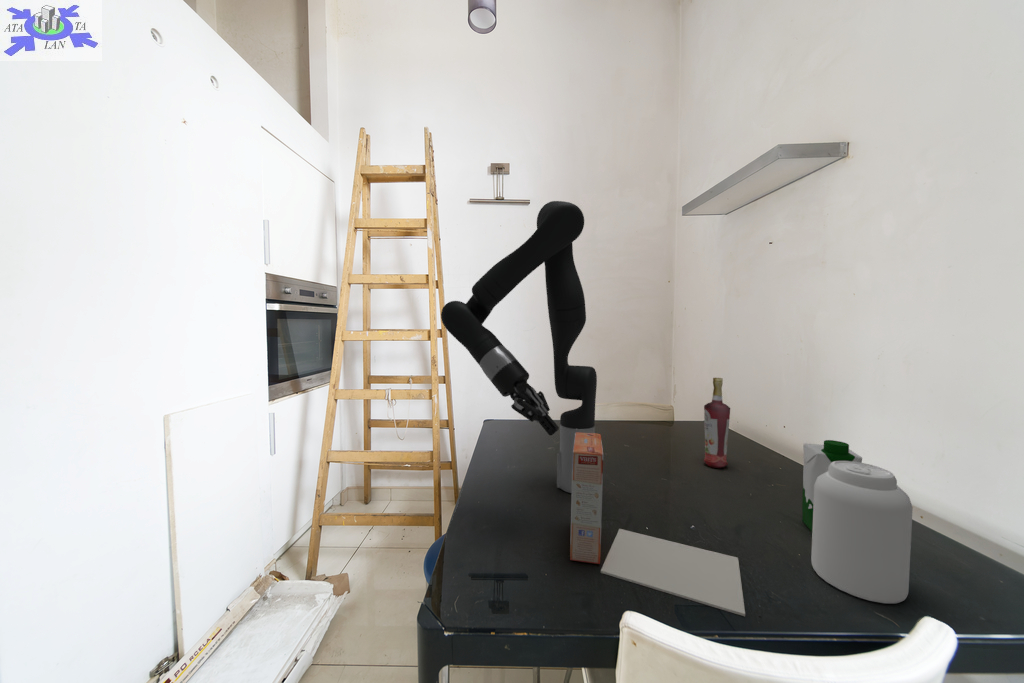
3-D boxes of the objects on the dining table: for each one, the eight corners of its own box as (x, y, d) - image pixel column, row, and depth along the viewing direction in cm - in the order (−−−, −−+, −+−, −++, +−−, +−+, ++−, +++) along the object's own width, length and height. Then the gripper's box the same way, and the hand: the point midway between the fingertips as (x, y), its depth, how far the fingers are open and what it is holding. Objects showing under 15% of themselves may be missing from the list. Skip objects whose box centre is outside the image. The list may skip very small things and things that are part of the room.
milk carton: (812, 538, 80) (815, 443, 79) (795, 518, 88) (798, 432, 87) (864, 546, 77) (868, 448, 76) (842, 524, 85) (846, 436, 85)
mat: (600, 572, 68) (600, 570, 68) (619, 530, 82) (619, 528, 82) (745, 616, 58) (745, 614, 58) (737, 559, 72) (737, 557, 72)
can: (888, 616, 58) (895, 487, 57) (796, 570, 69) (800, 461, 68) (921, 591, 64) (927, 473, 63) (831, 551, 75) (835, 451, 74)
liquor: (733, 470, 118) (736, 379, 117) (709, 469, 118) (712, 379, 117) (720, 461, 125) (723, 376, 124) (698, 461, 125) (700, 376, 124)
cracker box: (602, 566, 70) (604, 453, 69) (569, 561, 71) (570, 450, 70) (600, 527, 84) (602, 432, 83) (572, 524, 85) (573, 430, 84)
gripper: (500, 360, 78) (556, 427, 72) (527, 357, 89) (576, 415, 84) (477, 384, 80) (530, 451, 75) (506, 378, 92) (553, 436, 87)
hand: (555, 432), depth 80 cm, fingers closed
